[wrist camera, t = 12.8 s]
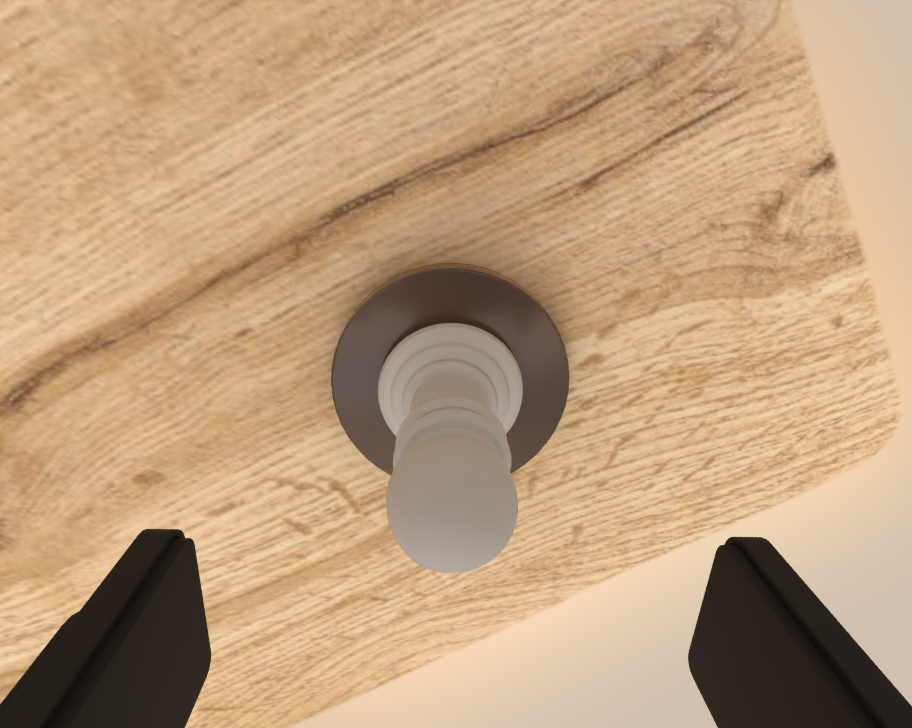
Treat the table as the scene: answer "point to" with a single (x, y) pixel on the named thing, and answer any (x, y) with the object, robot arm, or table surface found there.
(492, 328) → the walnut chip
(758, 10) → the table surface
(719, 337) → the table surface
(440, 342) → the chess piece
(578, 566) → the table surface
